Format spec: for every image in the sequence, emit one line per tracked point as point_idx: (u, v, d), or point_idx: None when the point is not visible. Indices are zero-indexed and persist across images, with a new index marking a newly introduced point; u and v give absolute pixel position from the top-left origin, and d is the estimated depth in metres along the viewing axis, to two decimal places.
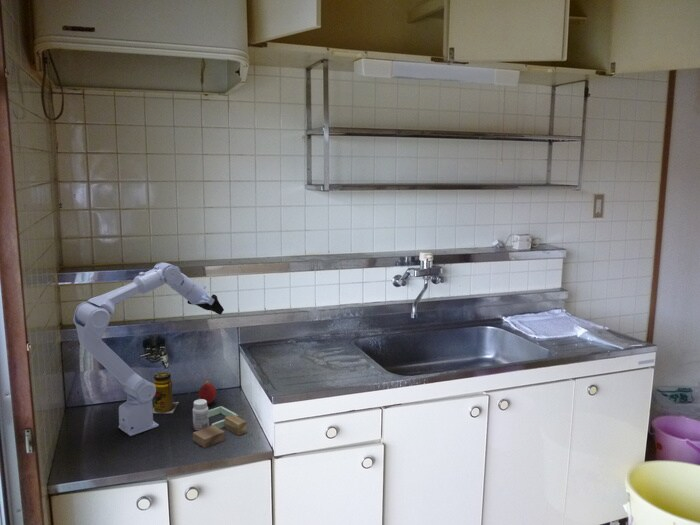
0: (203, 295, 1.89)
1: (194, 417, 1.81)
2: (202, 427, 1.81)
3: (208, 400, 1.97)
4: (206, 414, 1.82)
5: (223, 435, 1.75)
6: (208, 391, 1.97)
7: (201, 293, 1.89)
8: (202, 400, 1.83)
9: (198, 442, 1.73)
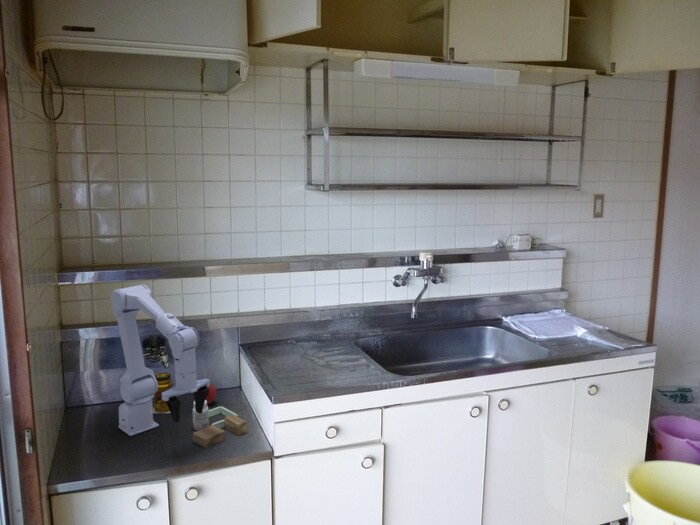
0: (178, 390, 1.64)
1: (194, 417, 1.81)
2: (202, 427, 1.81)
3: (208, 400, 1.97)
4: (206, 414, 1.82)
5: (223, 435, 1.75)
6: None
7: (180, 387, 1.64)
8: None
9: (198, 442, 1.73)
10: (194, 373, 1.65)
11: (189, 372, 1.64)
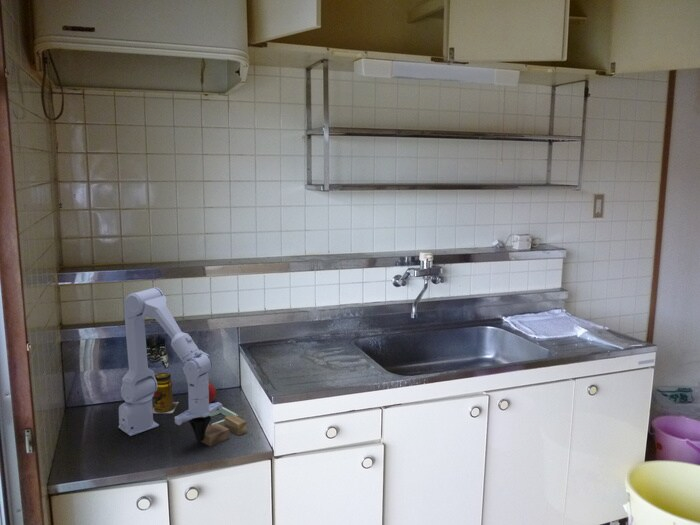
0: (191, 414, 1.68)
1: None
2: None
3: None
4: None
5: (227, 433, 1.76)
6: None
7: (192, 411, 1.68)
8: None
9: (203, 440, 1.74)
10: (206, 398, 1.69)
11: (204, 397, 1.68)
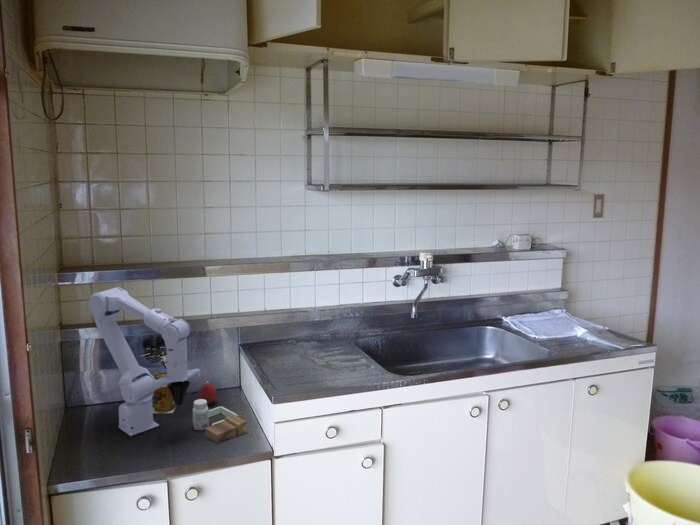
0: (169, 379, 1.72)
1: (194, 417, 1.81)
2: (202, 427, 1.81)
3: (208, 400, 1.97)
4: (206, 414, 1.82)
5: (235, 431, 1.78)
6: (208, 391, 1.97)
7: (171, 376, 1.72)
8: (202, 400, 1.83)
9: (210, 437, 1.76)
10: (185, 363, 1.73)
11: (183, 361, 1.72)
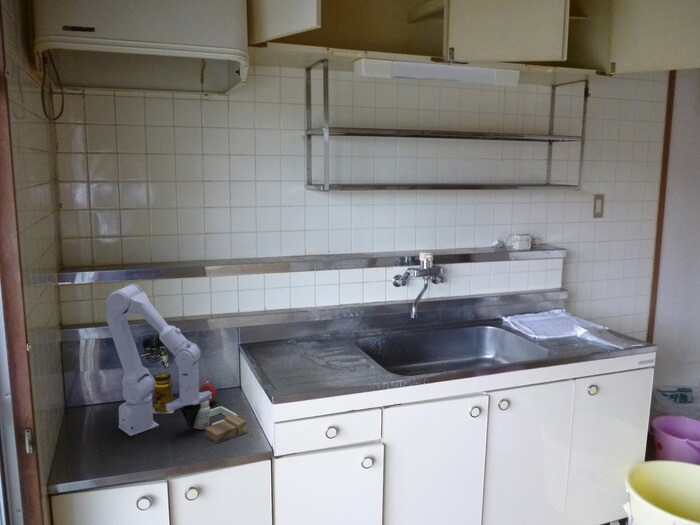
0: (182, 402, 1.76)
1: None
2: (202, 426, 1.81)
3: None
4: (207, 413, 1.82)
5: (235, 431, 1.78)
6: None
7: (183, 399, 1.76)
8: None
9: (210, 437, 1.76)
10: (197, 386, 1.77)
11: (196, 384, 1.77)
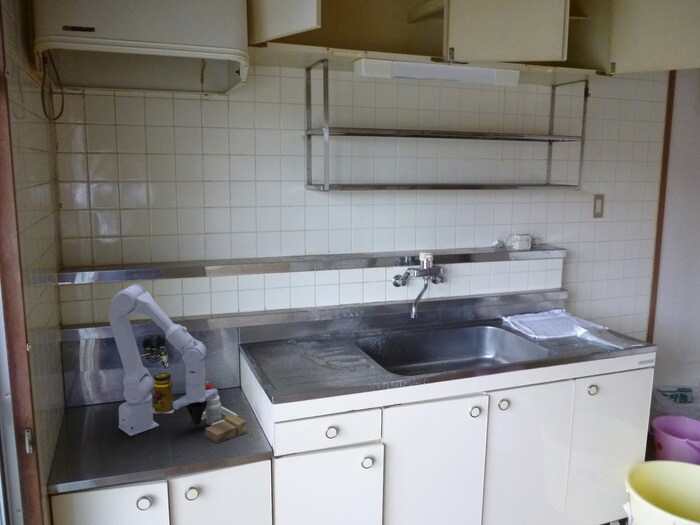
0: (188, 400, 1.78)
1: (207, 412, 1.84)
2: (215, 422, 1.85)
3: None
4: (219, 410, 1.85)
5: (235, 431, 1.78)
6: None
7: (189, 397, 1.78)
8: None
9: (210, 437, 1.76)
10: (203, 384, 1.79)
11: (203, 381, 1.79)
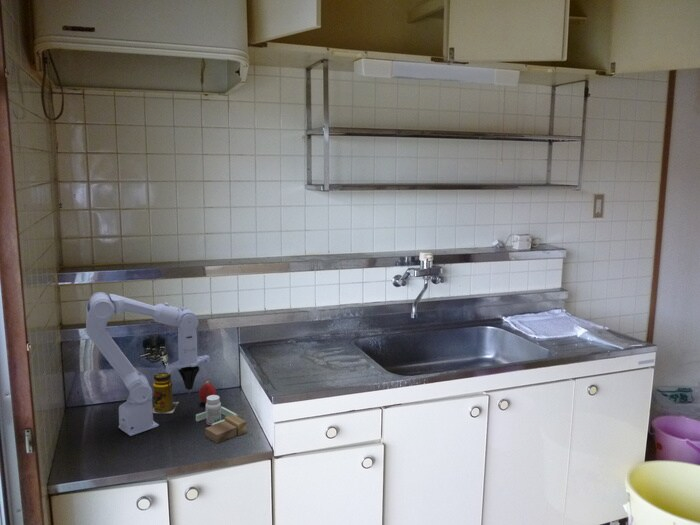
0: (181, 364, 1.83)
1: (207, 412, 1.84)
2: (215, 422, 1.85)
3: None
4: (219, 410, 1.85)
5: (235, 431, 1.78)
6: (208, 391, 1.97)
7: (182, 362, 1.83)
8: (214, 396, 1.86)
9: (210, 437, 1.76)
10: (195, 349, 1.84)
11: None
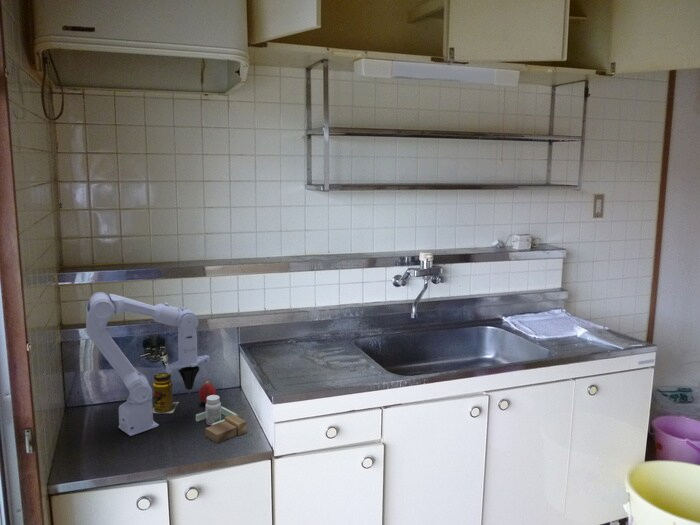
0: (181, 364, 1.83)
1: (207, 412, 1.84)
2: (215, 422, 1.85)
3: None
4: (218, 410, 1.85)
5: (235, 431, 1.78)
6: (208, 391, 1.97)
7: (182, 362, 1.83)
8: (214, 396, 1.86)
9: (210, 437, 1.76)
10: (195, 349, 1.84)
11: None
